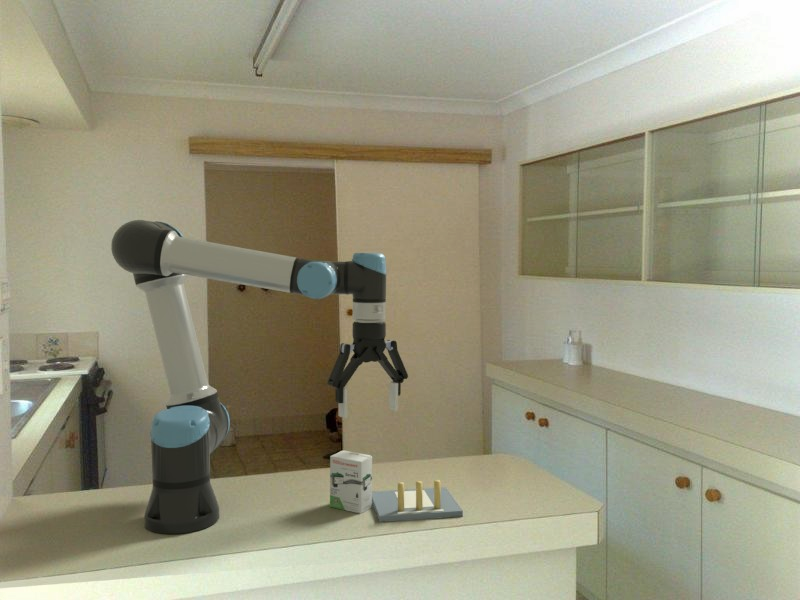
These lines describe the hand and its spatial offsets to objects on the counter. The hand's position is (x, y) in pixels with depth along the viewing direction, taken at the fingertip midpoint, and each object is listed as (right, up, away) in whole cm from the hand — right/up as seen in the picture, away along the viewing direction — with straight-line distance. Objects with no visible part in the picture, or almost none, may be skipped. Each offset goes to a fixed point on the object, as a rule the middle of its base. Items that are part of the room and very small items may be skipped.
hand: (368, 413), depth 164 cm
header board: (+10, -20, -4) cm, 23 cm away
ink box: (-4, -20, -4) cm, 21 cm away
